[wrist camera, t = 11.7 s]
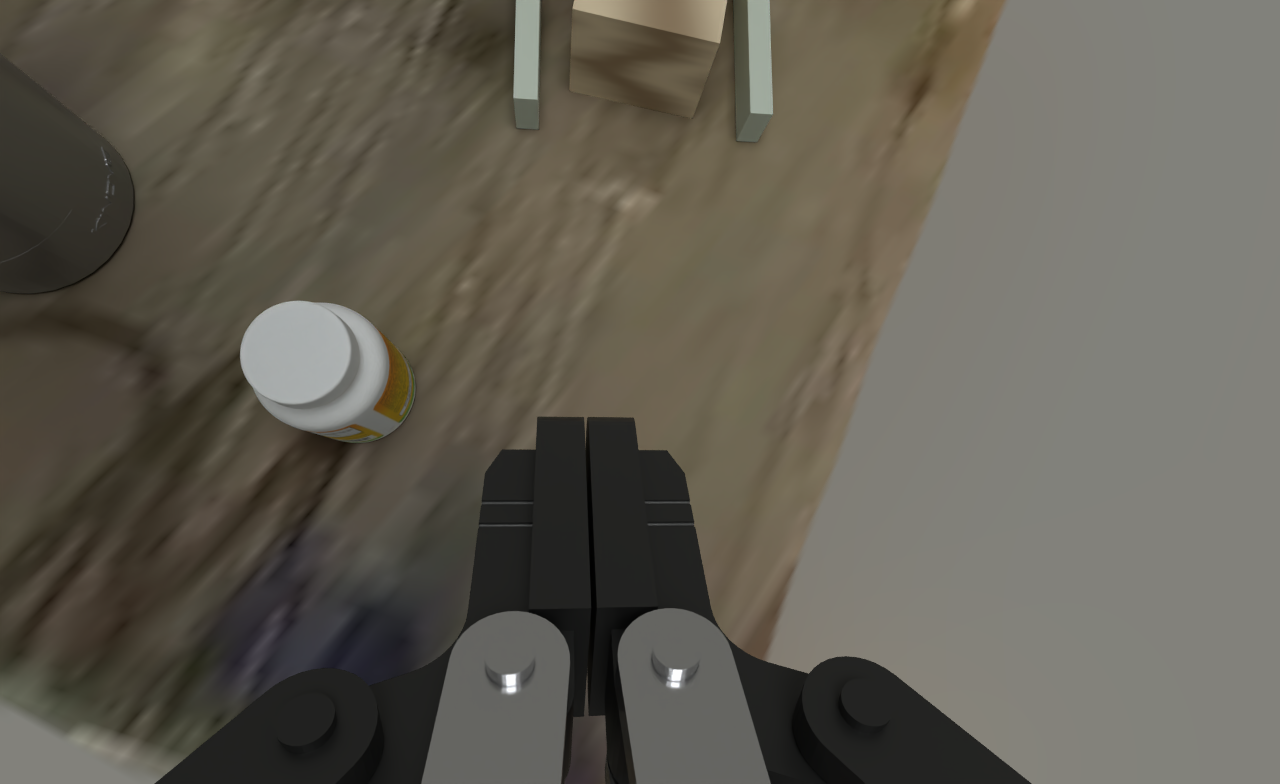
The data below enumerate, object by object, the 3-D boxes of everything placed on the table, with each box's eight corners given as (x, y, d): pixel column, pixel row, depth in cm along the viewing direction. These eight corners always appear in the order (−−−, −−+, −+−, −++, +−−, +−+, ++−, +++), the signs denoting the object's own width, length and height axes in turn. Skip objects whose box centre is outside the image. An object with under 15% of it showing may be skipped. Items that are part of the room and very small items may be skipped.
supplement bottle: (373, 316, 37) (311, 253, 28) (439, 398, 37) (400, 362, 27) (282, 382, 36) (187, 339, 27) (350, 466, 36) (278, 453, 26)
